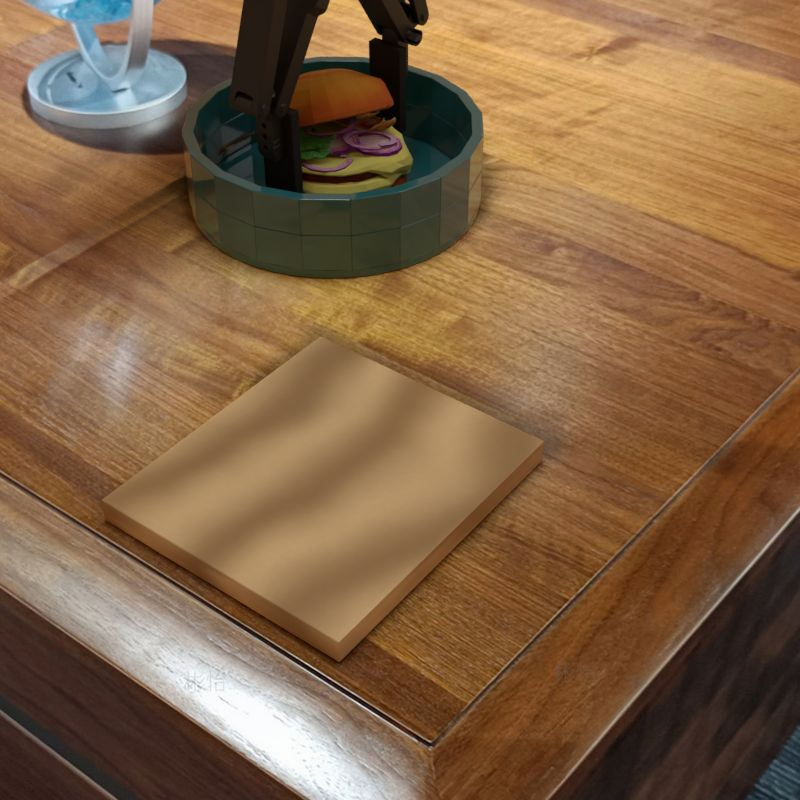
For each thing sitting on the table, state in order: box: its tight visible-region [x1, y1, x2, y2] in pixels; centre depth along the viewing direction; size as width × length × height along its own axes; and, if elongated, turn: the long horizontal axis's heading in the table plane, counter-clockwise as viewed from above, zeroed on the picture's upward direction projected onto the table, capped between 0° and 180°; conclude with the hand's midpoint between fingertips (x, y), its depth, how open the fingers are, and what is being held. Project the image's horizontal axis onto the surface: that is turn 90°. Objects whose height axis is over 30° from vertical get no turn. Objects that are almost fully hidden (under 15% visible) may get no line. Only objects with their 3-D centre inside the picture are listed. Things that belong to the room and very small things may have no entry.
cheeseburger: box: [274, 69, 413, 194], centre depth 95 cm, size 10×11×10 cm
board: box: [101, 335, 545, 663], centre depth 73 cm, size 16×18×2 cm
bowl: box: [181, 56, 485, 279], centre depth 95 cm, size 21×21×6 cm
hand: (338, 159), depth 95 cm, fingers closed on cheeseburger, 11 cm apart
